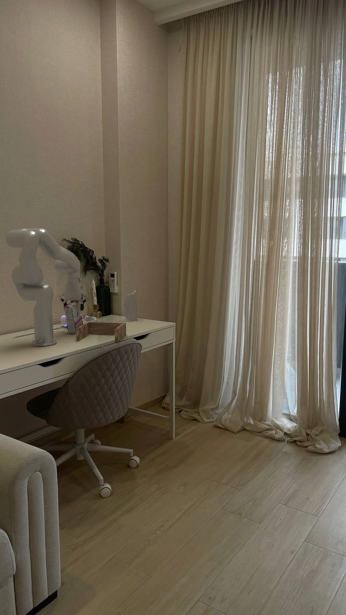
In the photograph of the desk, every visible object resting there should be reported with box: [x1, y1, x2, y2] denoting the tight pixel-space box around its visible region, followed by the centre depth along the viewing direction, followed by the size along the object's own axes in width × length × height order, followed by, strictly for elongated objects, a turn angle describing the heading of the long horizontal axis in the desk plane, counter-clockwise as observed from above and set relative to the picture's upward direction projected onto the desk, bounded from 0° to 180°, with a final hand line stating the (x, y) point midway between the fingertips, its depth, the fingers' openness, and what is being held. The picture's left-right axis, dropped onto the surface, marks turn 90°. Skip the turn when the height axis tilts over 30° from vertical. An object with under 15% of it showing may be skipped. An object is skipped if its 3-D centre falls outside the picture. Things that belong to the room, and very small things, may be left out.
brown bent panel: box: [75, 321, 127, 343], centre depth 248 cm, size 19×22×7 cm
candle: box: [115, 290, 138, 322], centre depth 299 cm, size 7×14×20 cm, turn 84°
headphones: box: [60, 311, 104, 328], centre depth 281 cm, size 22×8×22 cm
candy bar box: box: [63, 300, 84, 333], centre depth 261 cm, size 11×5×16 cm, turn 169°
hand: (73, 310), depth 262 cm, fingers open, 9 cm apart
